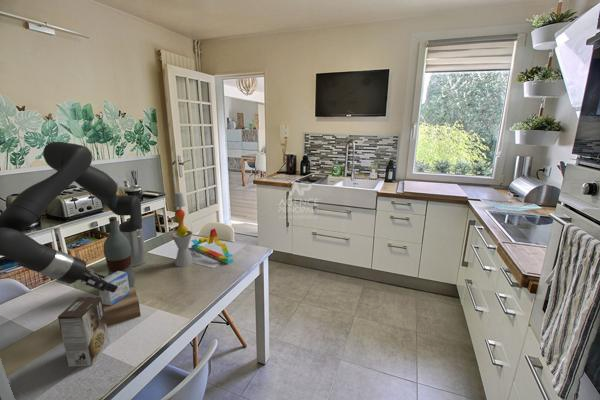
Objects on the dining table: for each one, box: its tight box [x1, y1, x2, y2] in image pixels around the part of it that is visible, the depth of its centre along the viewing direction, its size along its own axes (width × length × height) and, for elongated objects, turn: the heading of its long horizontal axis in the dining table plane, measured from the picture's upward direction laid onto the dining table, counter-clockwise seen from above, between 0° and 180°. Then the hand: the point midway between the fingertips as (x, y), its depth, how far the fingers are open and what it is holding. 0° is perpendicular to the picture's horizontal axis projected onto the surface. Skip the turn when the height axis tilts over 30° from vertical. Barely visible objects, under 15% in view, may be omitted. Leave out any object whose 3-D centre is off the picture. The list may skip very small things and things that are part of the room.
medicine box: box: [98, 271, 130, 306], centre depth 99 cm, size 8×4×9 cm, turn 164°
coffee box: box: [57, 296, 110, 368], centre depth 81 cm, size 9×6×16 cm
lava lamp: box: [171, 191, 195, 268], centre depth 135 cm, size 9×9×35 cm
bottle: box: [103, 216, 136, 288], centre depth 114 cm, size 9×9×30 cm
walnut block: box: [95, 286, 141, 328], centre depth 101 cm, size 12×12×6 cm
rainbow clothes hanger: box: [191, 228, 234, 265], centre depth 147 cm, size 30×3×15 cm, turn 53°
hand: (110, 285), depth 98 cm, fingers open, 8 cm apart
